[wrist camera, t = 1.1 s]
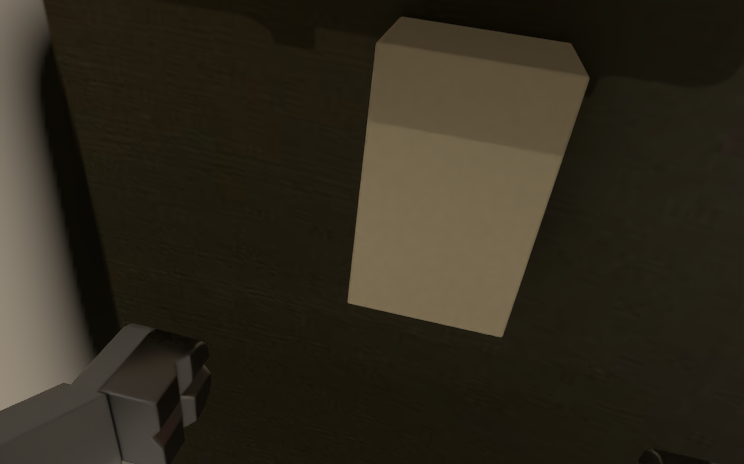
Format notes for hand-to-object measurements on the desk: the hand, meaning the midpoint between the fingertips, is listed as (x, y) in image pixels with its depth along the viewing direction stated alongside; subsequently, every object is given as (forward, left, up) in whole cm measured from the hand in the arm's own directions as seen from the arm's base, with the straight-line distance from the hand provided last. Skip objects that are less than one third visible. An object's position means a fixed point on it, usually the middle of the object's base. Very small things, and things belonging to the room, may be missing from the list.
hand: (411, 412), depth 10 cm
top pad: (0, 0, -11) cm, 11 cm away
